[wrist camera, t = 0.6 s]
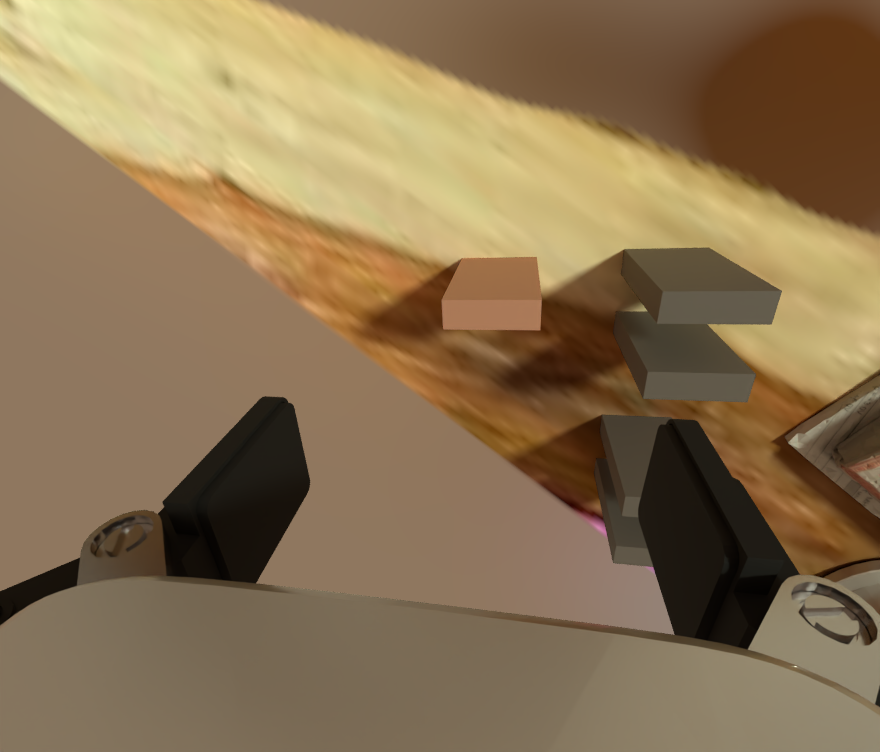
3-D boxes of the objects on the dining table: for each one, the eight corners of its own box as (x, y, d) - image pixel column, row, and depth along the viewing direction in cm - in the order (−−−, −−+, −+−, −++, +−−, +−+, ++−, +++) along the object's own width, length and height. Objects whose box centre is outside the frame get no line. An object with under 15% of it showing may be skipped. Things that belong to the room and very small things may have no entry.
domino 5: (689, 333, 31) (747, 402, 23) (613, 333, 31) (643, 398, 24) (694, 311, 30) (755, 374, 22) (615, 311, 31) (647, 371, 23)
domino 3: (658, 477, 36) (695, 570, 29) (594, 473, 37) (613, 563, 29) (661, 461, 36) (700, 553, 28) (596, 458, 37) (616, 545, 29)
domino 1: (535, 280, 31) (540, 330, 23) (462, 281, 31) (443, 329, 24) (536, 257, 30) (541, 299, 22) (462, 258, 31) (441, 300, 23)
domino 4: (703, 273, 29) (771, 324, 21) (621, 274, 29) (656, 323, 22) (708, 247, 28) (781, 290, 20) (624, 249, 29) (662, 291, 21)
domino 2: (667, 434, 34) (710, 522, 27) (599, 431, 35) (621, 516, 28) (671, 417, 34) (716, 502, 26) (602, 414, 35) (625, 496, 27)
